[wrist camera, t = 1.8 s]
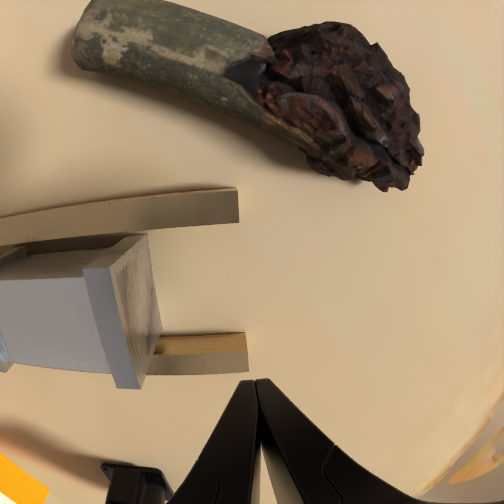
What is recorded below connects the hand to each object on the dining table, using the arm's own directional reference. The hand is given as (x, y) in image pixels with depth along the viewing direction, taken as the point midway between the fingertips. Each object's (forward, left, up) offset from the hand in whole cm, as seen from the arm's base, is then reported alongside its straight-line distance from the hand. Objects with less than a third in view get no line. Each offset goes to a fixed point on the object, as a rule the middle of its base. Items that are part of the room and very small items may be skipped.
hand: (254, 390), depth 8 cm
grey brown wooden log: (+11, -1, -10) cm, 15 cm away
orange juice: (-30, +35, -9) cm, 47 cm away
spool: (0, +10, -9) cm, 13 cm away
